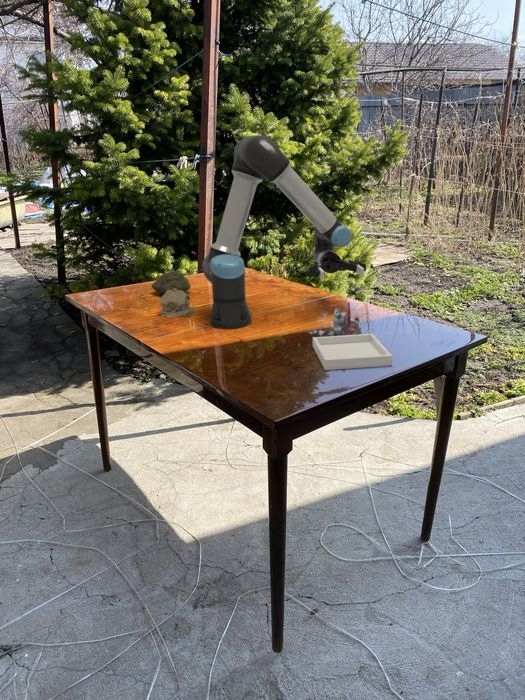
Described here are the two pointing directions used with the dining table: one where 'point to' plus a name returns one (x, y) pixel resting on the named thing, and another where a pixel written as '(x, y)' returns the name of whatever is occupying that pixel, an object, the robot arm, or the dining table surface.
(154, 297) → the dining table surface
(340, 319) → the brake caliper
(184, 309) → the ceramic model
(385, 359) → the tray
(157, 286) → the decorative rock
